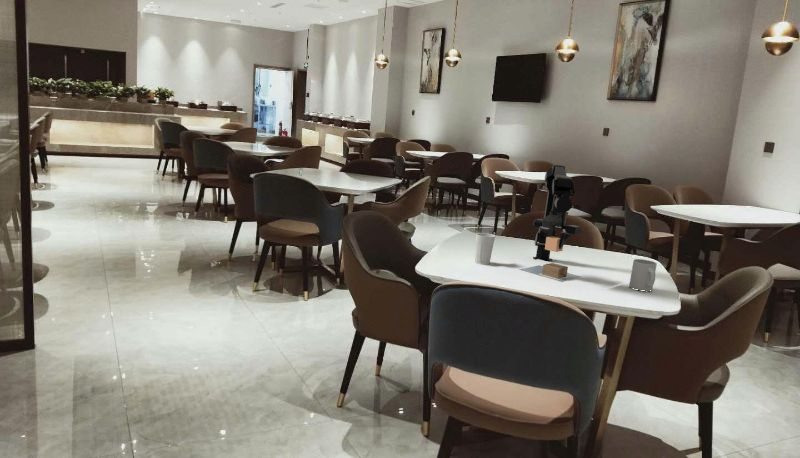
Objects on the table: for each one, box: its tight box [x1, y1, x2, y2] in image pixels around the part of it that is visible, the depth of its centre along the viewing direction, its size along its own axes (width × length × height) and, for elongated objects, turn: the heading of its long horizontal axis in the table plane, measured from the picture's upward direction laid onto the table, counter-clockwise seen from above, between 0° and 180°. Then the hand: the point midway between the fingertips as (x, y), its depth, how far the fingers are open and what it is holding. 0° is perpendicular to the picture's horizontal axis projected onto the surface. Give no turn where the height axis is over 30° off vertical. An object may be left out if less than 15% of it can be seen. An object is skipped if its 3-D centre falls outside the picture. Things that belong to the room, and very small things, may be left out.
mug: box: [628, 258, 657, 291], centre depth 234 cm, size 12×8×11 cm
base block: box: [542, 262, 569, 279], centre depth 242 cm, size 7×7×4 cm
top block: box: [545, 236, 564, 253], centre depth 242 cm, size 5×5×5 cm
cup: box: [474, 232, 496, 266], centre depth 255 cm, size 8×8×12 cm
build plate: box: [518, 264, 582, 283], centre depth 246 cm, size 16×20×1 cm
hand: (554, 247), depth 242 cm, fingers closed on top block, 5 cm apart
